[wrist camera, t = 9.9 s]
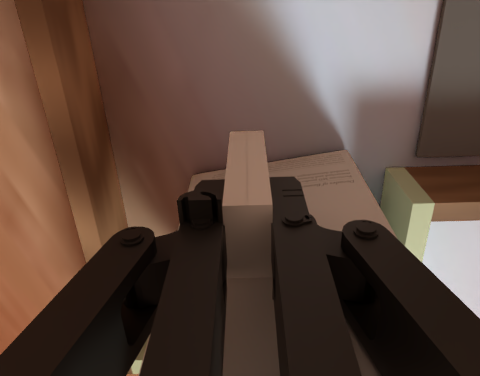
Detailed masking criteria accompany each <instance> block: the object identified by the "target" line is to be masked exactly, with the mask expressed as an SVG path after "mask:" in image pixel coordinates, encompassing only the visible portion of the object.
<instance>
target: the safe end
mask: <svg viewBox="0 0 480 376" xmlns="http://www.w3.org/2000/svg"><path fill="white" fill-rule="evenodd" d="M434 205H435V203H434V202H433V200H432V199H431V198H430V197H429V196H428V195H427V193H426V192H425V191H424V190H423V189H422V188H421V186H420V185H419V184H418V183H417V182H416V181H415V179H414V178H413V177H412V176H411V175H410V174H409V172H408V171H407V170H406V169H405V168H404V167H396V168H386V170H385V177H384V184H383V191H382V197H381V204H380V208H381V210H382V212H383V214H384V215H385V217H386V219H387V221H388V223H389V225H390V226H391V228H392V230H393V231H394V233H395V235H396V237H397V239H398V240H399V241H400V242H401V243H402V244H403V245H404V246H405V247H406V248H407V249H408V250H409V251H410V252H411V253H412V254H414V255H415V256H416V257H417V258H418V259H419V260H420V261H421V262H422V260H423V255H424V251H425V246H426V242H427V237H428V232H429V228H430V223H431V219H432V214H433V210H434ZM148 338H149V337H148ZM147 342H148V339H147V340H146V342H145V344H144V346H143V347H142V349H141V351H140V353H139V354H138V356H137V358H136V359H135V361H134V363H133V365H132V366H131V369H132V373H133V374H139V372H140V368H141V364H142V360H143V357H144V353H145V349H146V346H147Z"/></svg>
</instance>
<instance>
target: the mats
mask: <svg viewBox="0 0 480 376" xmlns="http://www.w3.org/2000/svg"><path fill="white" fill-rule="evenodd" d="M416 156H417V157H450V156H480V0H444V1H443V6H442V12H441V17H440V23H439V28H438V34H437V39H436V45H435V50H434V56H433V61H432V67H431V72H430V78H429V83H428V89H427V94H426V100H425V105H424V111H423V116H422V122H421V127H420V133H419V138H418V144H417V149H416Z"/></svg>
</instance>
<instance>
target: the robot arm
mask: <svg viewBox="0 0 480 376" xmlns="http://www.w3.org/2000/svg"><path fill="white" fill-rule="evenodd" d="M177 205H178V213H179V221H180V226H179V229H178V230H177V231H175V232H173V233H171V234H167V235H163V236H159V237H155V236H154V232H153V231H152V230H150V229H149V228H145V227H129V228H125V229H123V230H121V231H119V232H117V233H116V234H114V235H113V236H112V237H111V238H110V239H109V240H108V241H107V242H106V243H105V244H104V245H103V246H102V247H101V248H100V249H99V250H98V252H97V253H96V254H95V255H94V256H93V257H92V258H91V259H90V260H89V261H88V262H87V263H86V264H85V265H84V266H83V268H82V269H81V270H80V271H79V272H78V273H77V274H76V275H75V276H74V277H73V278H72V279H71V280H70V281H69V282H68V284H67V285H66V286H65V287H64V288H63V289H62V290H61V291H60V292H59V293H58V294H57V295H56V296H55V297H54V298H53V300H52V301H51V302H50V303H49V304H48V305H47V306H46V307H45V308H44V309H43V310H42V311H41V312H40V313H39V314H38V315H37V317H36V318H35V319H34V320H33V321H32V322H31V323H30V324H29V325H28V326H27V327H26V328H25V329H24V330H23V331H22V333H21V334H20V335H19V336H18V337H17V338H16V339H15V340H14V341H13V342H12V343H11V344H10V345H9V346H8V347H7V349H6V350H5V351H4V352H3V353H2V354H1V355H0V376H126V375H127V373H128V372H129V370H130V368H131V366H132V365H133V363H134V361H135V359H136V358H137V356H138V354H139V353H140V351H141V349H142V347H143V346H144V344H145V342H146V340H147V339H148V337H149V335H150V338H149V341H148V345H147V349H146V353H145V356H144V360H143V364H142V368H141V371H140V375H139V376H222V375H223V357H224V339H225V321H226V303H227V278H258V277H273V289H272V300H274V311H275V323H276V334H277V346H278V358H279V369H280V376H362V375H361V372H360V368H359V365H358V361H357V358H356V355H355V351H354V348H353V344H352V341H351V338H350V334H349V331H348V327H347V324H346V321H345V318H346V320H347V321H348V323H349V325H350V326H351V328H352V329H353V331H354V333H355V334H356V336H357V337H358V339H359V341H360V342H361V344H362V345H363V347H364V349H365V350H366V352H367V353H368V355H369V357H370V358H371V360H372V361H373V363H374V364H375V366H376V368H377V369H378V371H379V372H380V374H381V376H480V319H479V318H478V317H477V316H476V315H475V314H474V313H473V312H472V311H471V310H470V309H469V308H468V307H467V306H466V305H465V304H464V303H463V302H462V301H461V300H460V299H459V298H458V297H457V296H456V295H455V294H454V293H453V292H452V291H451V290H450V289H449V288H448V287H447V286H445V285H444V284H443V283H442V282H441V281H440V280H439V279H438V278H437V277H436V276H435V275H434V274H433V273H432V272H431V271H430V270H429V269H428V268H427V267H426V266H425V265H424V264H423V263H422V262H421V261H420V260H419V259H418V258H417V257H416V256H415V255H414V254H412V253H411V252H410V251H409V250H408V249H407V248H406V247H405V246H404V245H403V244H402V243H401V242H400V241H399V240H398V239H397V238H396V237H395V236H394V235H393V234H392V233H391V232H390V231H389V230H388V229H387V228H385V227H384V226H382V225H381V224H379V223H376V222H373V221H370V220H354V221H350V222H348V223H346V224H345V225H344V226H343V229H342V231H336V230H331V229H326V228H324V227H321V226H319V225H317V222H316V220H315V218H314V217H313V216H312V215H311V214H309V211H308V207H307V204H306V200H305V197H304V193H303V191H302V186H301V182H300V181H298V180H297V179H296V178H295V177H293V176H290V177H269V171H268V163H267V155H266V147H265V139H264V131H232V132H230V136H229V145H228V155H227V165H226V174H225V179H219V180H201V181H200V182H199V183H198V184H197V185H196V186H195V188H194V191H190V192H187V193H185V194H183V195H181V196H180V197H179V198H178V200H177ZM226 276H227V277H226ZM150 333H151V334H150Z"/></svg>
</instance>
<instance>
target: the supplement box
mask: <svg viewBox="0 0 480 376" xmlns="http://www.w3.org/2000/svg"><path fill="white" fill-rule="evenodd" d="M267 163H268V171H269V177H290V176H293V177H295V178H296V179H297V180H298V181H300V182H301V186H302V191H303V193H304V197H305V200H306V204H307V207H308V211H309V214H311V215H312V216H313V217H314V218H315V220H316V222H317V225H319V226H321V227H324V228H326V229H331V230H336V231H342V229H343V226H344V225H345V224H346V223H348V222H350V221H354V220H370V221H373V222H376V223H379V224H381V225H382V226H384V227H385V228H387V229H388V230H389V231H390V232H391V233H392V234H393V235H394V236H395V237H396V235H395V233H394V231H393V230H392V228H391V226H390V225H389V223H388V221H387V219H386V217H385V215H384V214H383V212H382V210H381V208H380V207H379V205H378V203H377V201H376V199H375V198H374V196H373V194H372V192H371V191H370V189H369V187H368V185H367V184H366V182H365V180H364V178H363V177H362V175H361V173H360V171H359V170H358V168H357V166H356V164H355V162H354V161H353V159H352V157H351V155H350V154H349V152H348V151H347V150H341V151H334V152H328V153H322V154H316V155H310V156H304V157H298V158H292V159H286V160H280V161H274V162H267ZM225 174H226V169H224V170H218V171H212V172H206V173H201V174H196V175H193V176H192V177H191V181H190V185H189V189H188V192H190V191H194V188H195V186H196V185H197V184H198V183H199V182H200V181H201V180H219V179H225ZM179 226H180V223H179ZM178 229H179V227H178ZM396 238H397V237H396ZM226 277H227V276H226ZM272 289H273V277H258V278H227V303H226V321H225V339H224V357H223V375H222V376H280V369H279V358H278V346H277V334H276V323H275V311H274V300H272ZM345 321H346V324H347V327H348V331H349V334H350V338H351V341H352V344H353V348H354V351H355V355H356V358H357V361H358V365H359V368H360V372H361V375H362V376H381V374H380V372H379V371H378V369H377V368H376V366H375V364H374V363H373V361H372V360H371V358H370V357H369V355H368V353H367V352H366V350H365V349H364V347H363V345H362V344H361V342H360V341H359V339H358V337H357V336H356V334H355V333H354V331H353V329H352V328H351V326H350V325H349V323H348V321H347V320H346V318H345ZM150 334H151V333H150ZM149 338H150V335H149ZM149 338H148V341H149ZM147 345H148V342H147ZM146 349H147V346H146ZM146 349H145V353H146ZM145 353H144V356H145ZM143 360H144V357H143ZM143 360H142V364H143ZM142 364H141V368H142ZM141 368H140V371H141ZM139 375H140V372H139Z"/></svg>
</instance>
